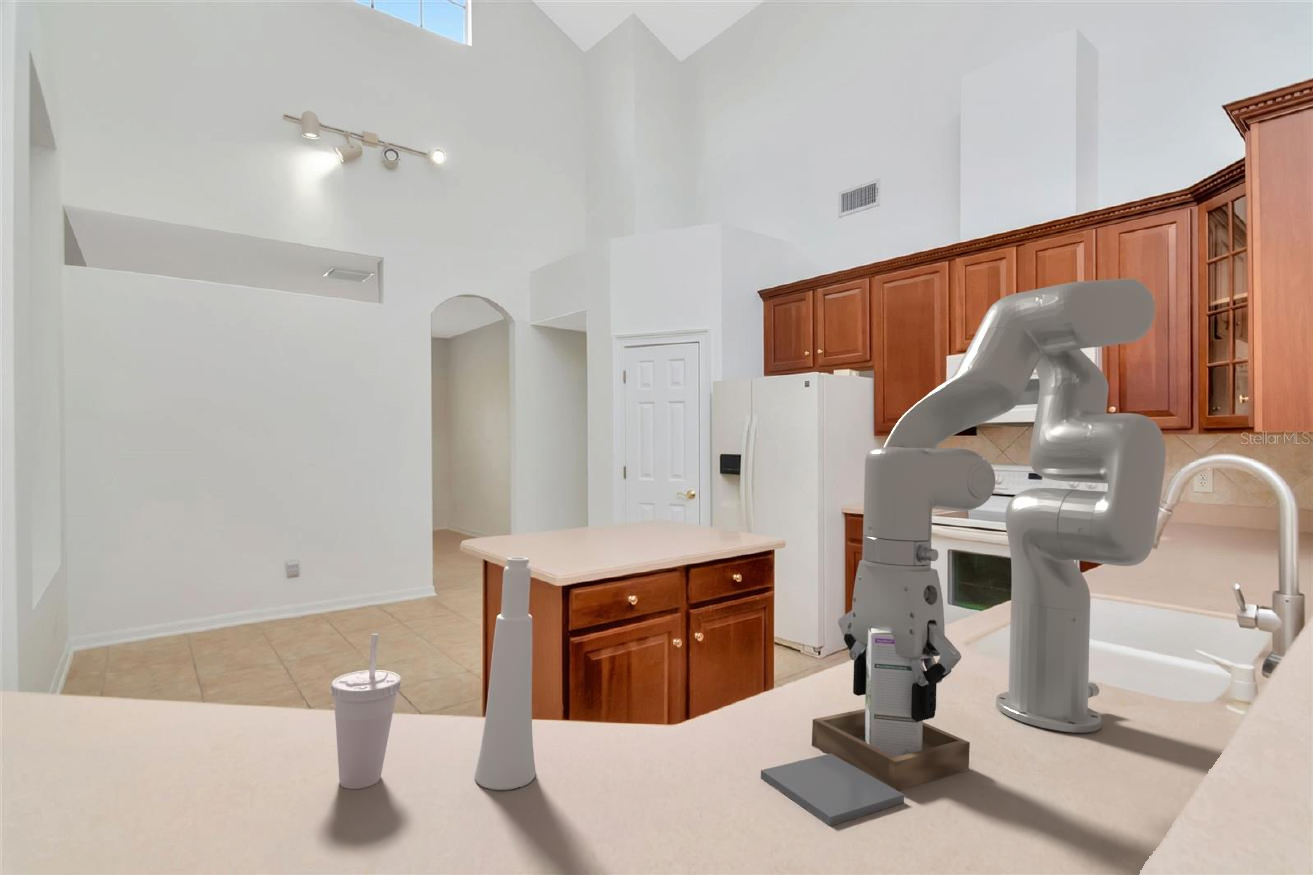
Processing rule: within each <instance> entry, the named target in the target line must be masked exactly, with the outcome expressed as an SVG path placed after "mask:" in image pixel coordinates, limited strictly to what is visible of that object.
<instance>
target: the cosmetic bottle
mask: <svg viewBox="0 0 1313 875" xmlns="http://www.w3.org/2000/svg"><path fill="white" fill-rule="evenodd" d="M529 561H530V558H529V557H526V556H509V557H506V563H507V566H505V567H504V568H503V572H502V573H503V574H502V588H501V589H502V591H501V608H500V614H498V615H497V616H496V620H495V627H494V635H493V644H492V651H491V652H492V653H491V654H492V655H491V663H490V672H489V673H490V674H489V683H488V691H487V702H486V709H485V710H486V711H485V718H484V726H483V731H482V732H483V733H482V738H481V744H480V750H479V755H478V759H477V763H476V766H475V772H474V779H475V782H476V783H477V784H478V785H479V786H480V787H483V788H485V789H488V790H493V791H509V790H515V788H516V789H519V788H518V787H520V788H522V787H524V786H526V785H528V784H530V783H532V781H533V780H535V777H536V772H537V771H536V765H535V755H534V754H535V753H534V742H533V740H534V739H533V708H532V707H533V702H532V701H533V698H532V696H533V616H532V615H531V614H530V613H529V612H530V609H529V608H530V595H531V593H530V590H531V578H532V577H531V576H532V571H531V568H530V567H529V566H528V564H529V563H530V562H529Z"/></svg>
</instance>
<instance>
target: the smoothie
mask: <svg viewBox="0 0 1313 875" xmlns="http://www.w3.org/2000/svg"><path fill="white" fill-rule="evenodd" d="M378 635H379V634H378V633H372V634H371V641H370V655H369V656H370V658H369V670H367V669H365V670H358V671H353V672H348V673H345V674H341V675H339V676H337V677H336V678H335V679H333V680H332V681H331V688H330V693H329V694H330V696H331V697H333V701H334V714H335V715H334V716H335V730H336V731H335V732H336V733H335V734H336V750H337V763H338V765H337V766H338V775H339V776H338V779H339V780H338V782H339V785H340V786H341V787H343V788H345V789H349V790H358V789H363V788H368V787H371V786H374V785H375V784H377V783H378V782H379V781H380V780H381V779H382V778H381V776H382V773H383V772H382V771H383V767H384V762H385V758H386V753H387V746H388V741H389V735H390V731H391V730H390V729H391V724H392V719H393V714H394V710H395V704H396V700H397V699H396V698H397V693H398V692H399V691H400V690H401V688H402V684H401V680H402V677H401V675H400V674H398V673H396V672H394V671H390V670H383V669H382V670H381V669H376V666H377V651H378Z"/></svg>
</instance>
